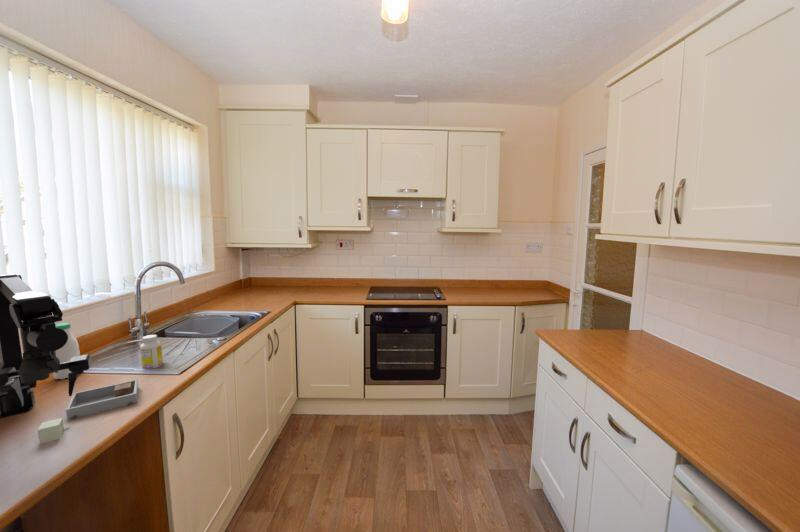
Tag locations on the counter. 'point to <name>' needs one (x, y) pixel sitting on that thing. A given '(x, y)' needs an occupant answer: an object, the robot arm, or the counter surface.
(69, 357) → the milk bottle
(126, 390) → the walnut block
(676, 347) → the counter surface
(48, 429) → the sage block
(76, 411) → the grey shallow tray
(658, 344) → the counter surface
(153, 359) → the supplement bottle
